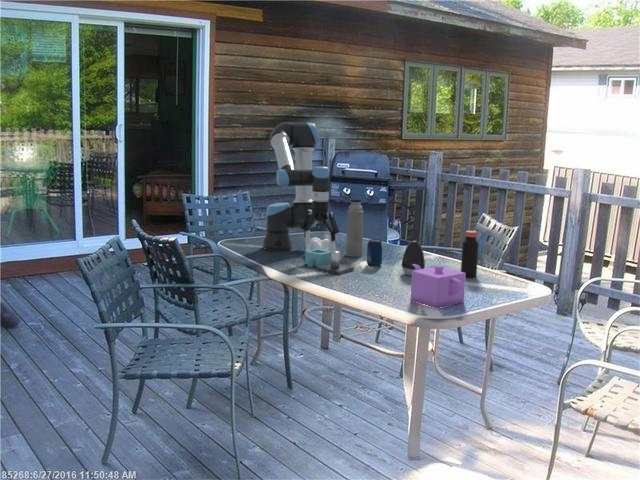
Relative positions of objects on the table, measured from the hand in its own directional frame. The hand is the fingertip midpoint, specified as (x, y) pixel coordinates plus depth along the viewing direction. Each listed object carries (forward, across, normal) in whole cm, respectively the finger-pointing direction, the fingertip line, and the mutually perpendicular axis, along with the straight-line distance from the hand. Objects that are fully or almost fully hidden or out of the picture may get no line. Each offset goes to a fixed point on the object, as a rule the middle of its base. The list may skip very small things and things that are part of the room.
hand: (319, 246), depth 300 cm
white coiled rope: (+8, -11, +13) cm, 20 cm away
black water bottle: (+9, +62, +26) cm, 68 cm away
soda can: (+9, +20, +15) cm, 27 cm away
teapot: (+10, +70, -20) cm, 73 cm away
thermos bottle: (+8, +1, +28) cm, 30 cm away
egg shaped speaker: (+9, +42, +12) cm, 45 cm away
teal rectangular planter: (+8, 0, 0) cm, 9 cm away
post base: (+9, +13, -5) cm, 16 cm away
